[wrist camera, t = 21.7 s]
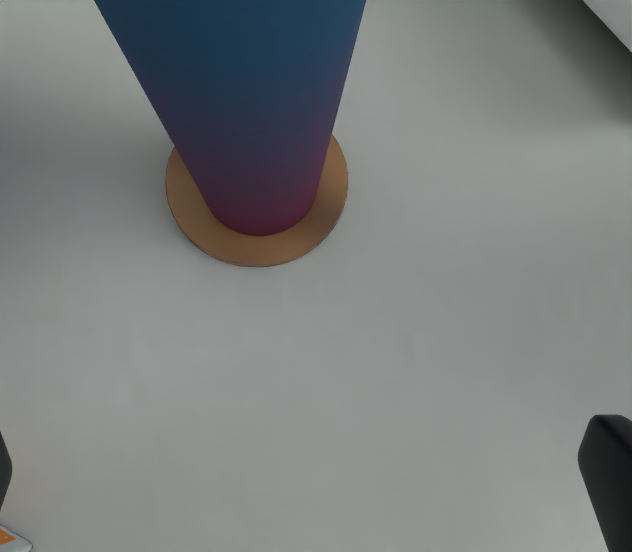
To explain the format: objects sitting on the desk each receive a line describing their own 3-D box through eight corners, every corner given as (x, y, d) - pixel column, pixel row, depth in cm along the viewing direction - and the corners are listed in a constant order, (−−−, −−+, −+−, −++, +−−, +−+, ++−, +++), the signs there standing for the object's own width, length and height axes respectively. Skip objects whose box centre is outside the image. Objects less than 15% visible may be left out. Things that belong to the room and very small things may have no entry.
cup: (277, 88, 25) (259, -374, 11) (368, 198, 24) (490, -156, 9) (151, 166, 24) (-67, -239, 9) (241, 288, 22) (150, 36, 8)
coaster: (314, 291, 23) (315, 289, 23) (138, 233, 23) (135, 230, 23) (369, 133, 25) (370, 128, 25) (206, 81, 25) (205, 76, 25)
